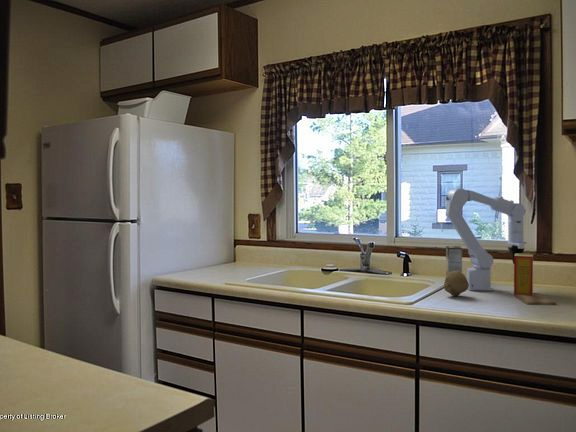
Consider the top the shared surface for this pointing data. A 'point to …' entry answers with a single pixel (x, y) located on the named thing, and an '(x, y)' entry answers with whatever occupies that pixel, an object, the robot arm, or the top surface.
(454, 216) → the robot arm
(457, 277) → the natural sponge
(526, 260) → the baking soda box
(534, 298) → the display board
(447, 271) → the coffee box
